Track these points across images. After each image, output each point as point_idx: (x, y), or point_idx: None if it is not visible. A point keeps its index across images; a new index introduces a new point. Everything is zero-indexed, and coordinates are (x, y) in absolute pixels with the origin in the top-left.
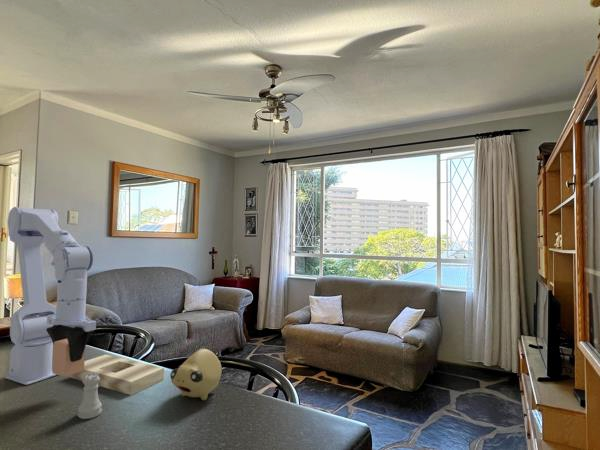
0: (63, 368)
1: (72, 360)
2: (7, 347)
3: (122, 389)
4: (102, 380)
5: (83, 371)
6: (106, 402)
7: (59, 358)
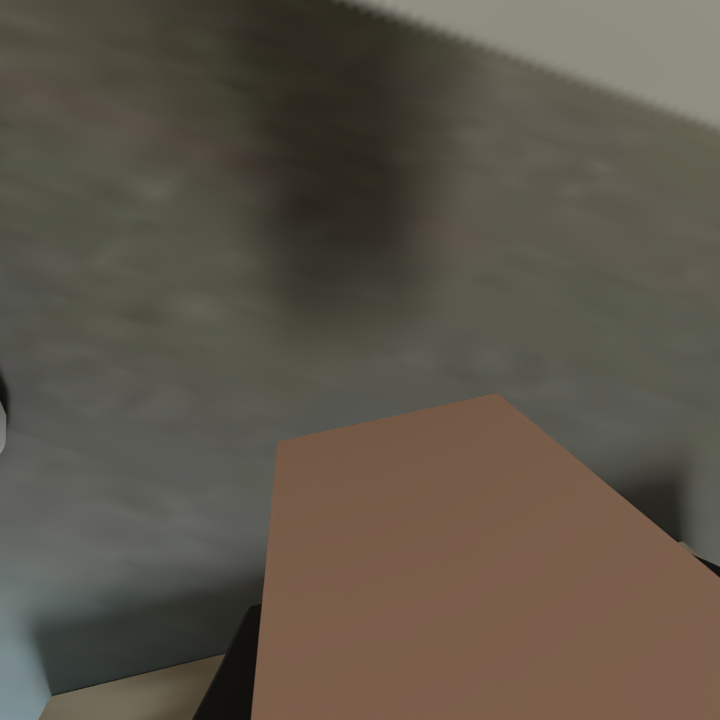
0: (307, 474)
1: (241, 621)
2: None
3: (129, 694)
4: None
5: None
6: (55, 555)
7: (429, 515)
